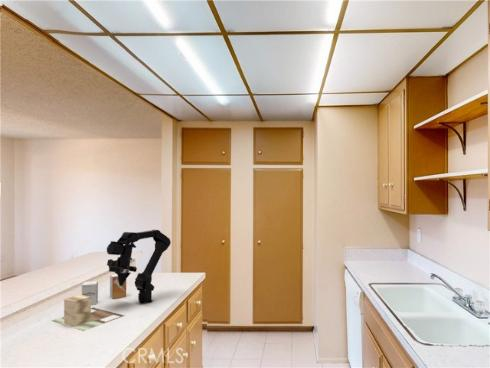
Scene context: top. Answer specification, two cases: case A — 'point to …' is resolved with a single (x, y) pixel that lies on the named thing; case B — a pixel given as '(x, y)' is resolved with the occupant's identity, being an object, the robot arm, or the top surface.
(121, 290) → the small box
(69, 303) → the birch block
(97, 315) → the lane board
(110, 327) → the top surface
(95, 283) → the supplement box
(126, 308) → the top surface
